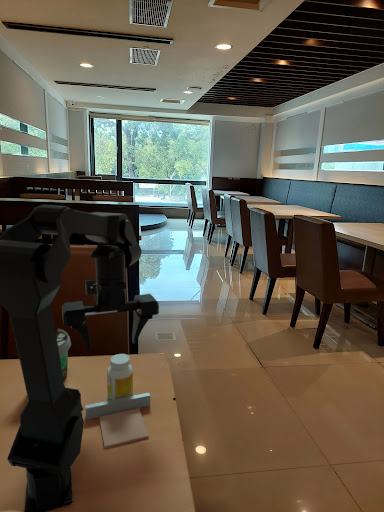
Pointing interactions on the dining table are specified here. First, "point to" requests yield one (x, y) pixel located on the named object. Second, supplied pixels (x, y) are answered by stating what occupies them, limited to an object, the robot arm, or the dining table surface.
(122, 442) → the mat
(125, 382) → the supplement bottle
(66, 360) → the food container
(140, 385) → the dining table surface
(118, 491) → the dining table surface
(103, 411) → the low wall
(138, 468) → the dining table surface
